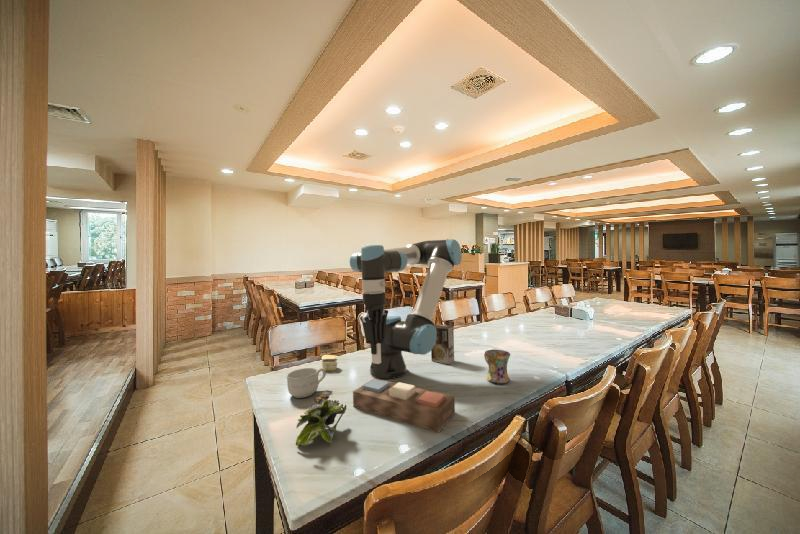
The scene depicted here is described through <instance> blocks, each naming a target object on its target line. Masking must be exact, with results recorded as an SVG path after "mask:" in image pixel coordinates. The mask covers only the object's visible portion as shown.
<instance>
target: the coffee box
mask: <svg viewBox="0 0 800 534" xmlns="http://www.w3.org/2000/svg"><path fill="white" fill-rule="evenodd" d="M434 327H435V328H436V331H437V335H436V337H437V339H436V343H435V345H434V347H433V349H432V350H431V351H430V353H431V362H432V361H433V363H438V362H439V364H445V365H451V364H452V363H453V362H454V361H455V344H454V343H455V340H454V339H455V338H454V337H455V335H454V331H455V330H454V325H447V324H446V325H445V324H437V323H436V324H435V325H434Z"/></svg>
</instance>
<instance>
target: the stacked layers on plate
mask: <svg viewBox="0 0 800 534" xmlns="http://www.w3.org/2000/svg"><path fill="white" fill-rule="evenodd" d="M337 357H338V355H333V354H324V355H322V356H321V368H323V369H325V371H326V370H327V371H335V370H336V369H337V368H338V358H337ZM327 371H326V372H327Z"/></svg>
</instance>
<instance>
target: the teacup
mask: <svg viewBox="0 0 800 534" xmlns="http://www.w3.org/2000/svg"><path fill="white" fill-rule="evenodd" d="M321 372H322V376H320V377H319V375H320V373H321ZM326 375H327V371H325V369H323V367H320V368H316V367H315V368H314V367H305V368H299V369H295V370H292V371H290V372H288V373H287V374H286V381H287V382H286V383H287V390H288V393H289V394H290V395H291V396H292V397H294V398H296V399H302V398H308V397H310V396H312V395H313V394H314V393H315V392H316V391H317V390H318V387H319V384H320V383H321V382H322V381H323V380H324V379H325V378H326Z"/></svg>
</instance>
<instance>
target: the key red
mask: <svg viewBox="0 0 800 534" xmlns="http://www.w3.org/2000/svg"><path fill="white" fill-rule="evenodd" d="M429 391H430V390H429ZM429 391H426V392H425V393H424V394H423V395H422V396H420V397H419V398H418V404H422V405H426V406H430V407H434V408H438V407H439V406H440V405H441V403H442V402H443V401H444V400H445V395H442V394H443V393H442V394H438V393H439V392H438V393H433V392H429Z"/></svg>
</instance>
